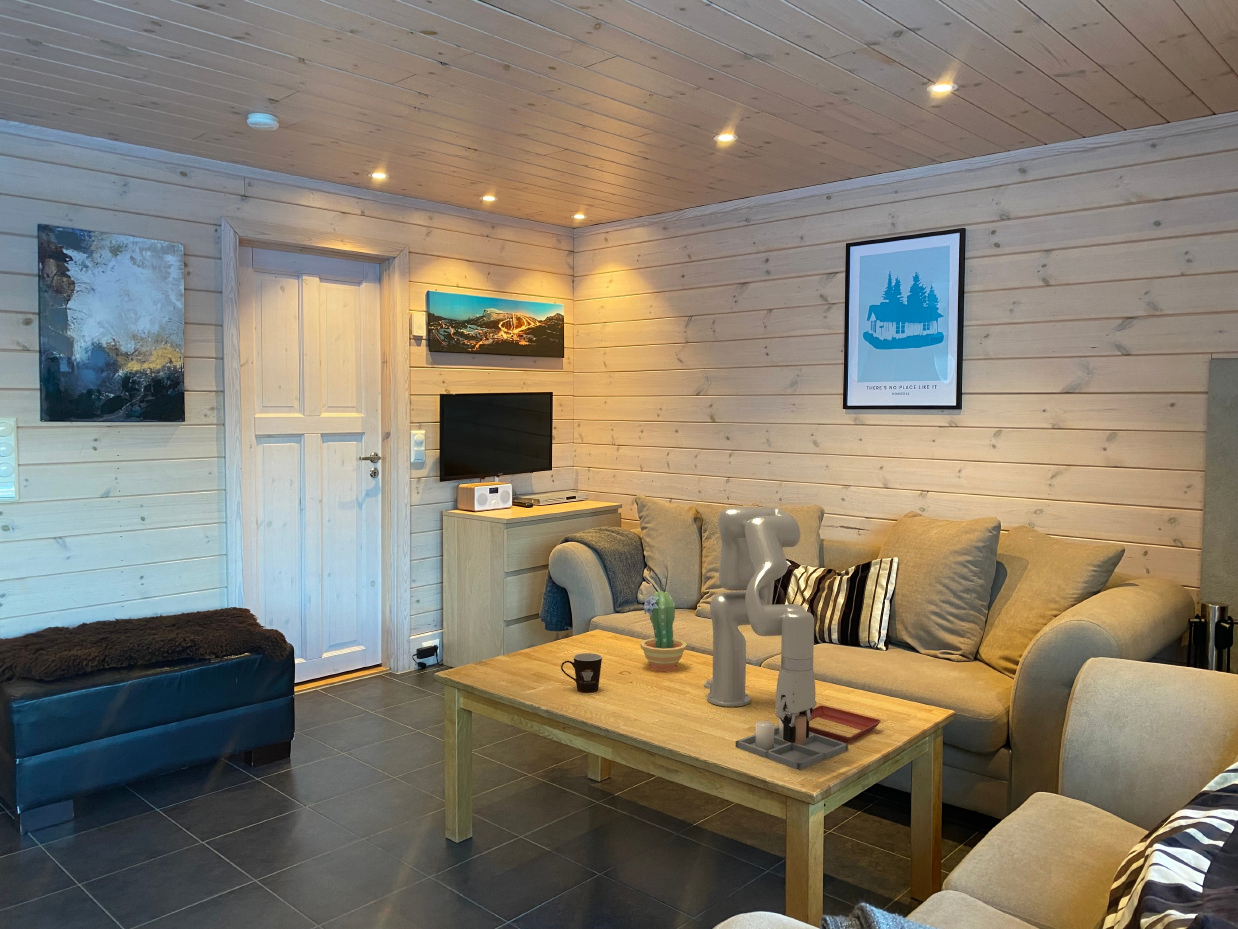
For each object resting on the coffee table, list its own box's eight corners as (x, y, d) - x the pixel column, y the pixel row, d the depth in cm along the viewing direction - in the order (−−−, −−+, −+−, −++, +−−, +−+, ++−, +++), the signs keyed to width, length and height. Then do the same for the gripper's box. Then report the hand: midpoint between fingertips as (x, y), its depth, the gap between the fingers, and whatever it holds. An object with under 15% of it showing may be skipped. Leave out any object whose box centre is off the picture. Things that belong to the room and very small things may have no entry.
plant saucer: (882, 731, 241) (882, 719, 241) (849, 749, 228) (849, 736, 228) (820, 716, 253) (821, 704, 253) (786, 732, 240) (786, 720, 240)
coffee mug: (606, 687, 277) (606, 655, 276) (594, 695, 269) (594, 662, 268) (572, 682, 282) (572, 650, 281) (559, 690, 274) (559, 657, 273)
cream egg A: (751, 747, 226) (751, 723, 225) (763, 743, 229) (763, 719, 228) (766, 752, 222) (766, 728, 222) (777, 748, 225) (778, 724, 225)
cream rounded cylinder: (775, 738, 232) (775, 715, 231) (786, 734, 235) (786, 711, 235) (789, 743, 228) (790, 720, 228) (800, 739, 231) (801, 716, 231)
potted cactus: (640, 661, 307) (640, 587, 306) (686, 661, 307) (687, 588, 305) (639, 673, 292) (640, 596, 291) (687, 674, 291) (688, 597, 290)
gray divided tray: (735, 750, 226) (735, 741, 226) (784, 732, 239) (784, 723, 239) (799, 773, 211) (799, 763, 211) (847, 753, 224) (847, 744, 224)
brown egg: (782, 740, 218) (782, 715, 218) (794, 736, 221) (794, 711, 221) (798, 745, 215) (798, 720, 214) (809, 741, 218) (810, 716, 218)
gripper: (805, 654, 226) (804, 727, 226) (762, 666, 214) (761, 743, 215) (831, 660, 220) (830, 735, 221) (787, 672, 209) (786, 751, 210)
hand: (796, 738), depth 218 cm, fingers closed on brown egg, 4 cm apart
